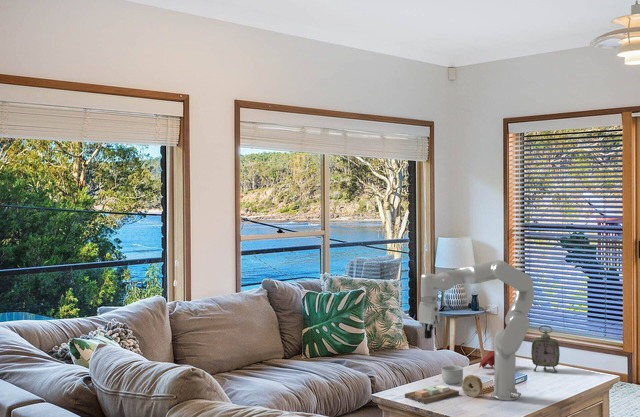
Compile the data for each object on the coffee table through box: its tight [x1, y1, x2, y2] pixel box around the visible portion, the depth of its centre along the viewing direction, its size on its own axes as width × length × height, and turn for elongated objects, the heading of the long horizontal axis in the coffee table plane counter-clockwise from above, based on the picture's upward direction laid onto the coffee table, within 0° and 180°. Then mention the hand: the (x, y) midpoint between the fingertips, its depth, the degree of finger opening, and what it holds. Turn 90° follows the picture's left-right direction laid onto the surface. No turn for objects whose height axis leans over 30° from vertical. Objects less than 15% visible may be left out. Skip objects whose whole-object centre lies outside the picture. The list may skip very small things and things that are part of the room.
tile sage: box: [424, 386, 439, 395], centre depth 331 cm, size 4×4×2 cm
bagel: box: [461, 374, 484, 398], centre depth 332 cm, size 10×4×10 cm, turn 43°
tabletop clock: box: [530, 324, 560, 374], centre depth 381 cm, size 14×9×25 cm, turn 73°
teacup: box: [440, 364, 464, 385], centre depth 356 cm, size 14×11×8 cm
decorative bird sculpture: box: [478, 350, 495, 370], centre depth 384 cm, size 28×9×15 cm
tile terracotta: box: [414, 389, 428, 397], centre depth 327 cm, size 4×4×2 cm
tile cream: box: [435, 384, 450, 392], centre depth 335 cm, size 4×4×2 cm
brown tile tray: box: [404, 386, 460, 404], centre depth 331 cm, size 12×24×2 cm, turn 127°
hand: (428, 338), depth 333 cm, fingers closed
